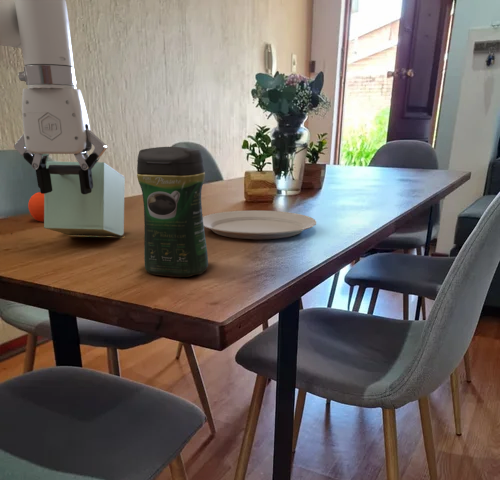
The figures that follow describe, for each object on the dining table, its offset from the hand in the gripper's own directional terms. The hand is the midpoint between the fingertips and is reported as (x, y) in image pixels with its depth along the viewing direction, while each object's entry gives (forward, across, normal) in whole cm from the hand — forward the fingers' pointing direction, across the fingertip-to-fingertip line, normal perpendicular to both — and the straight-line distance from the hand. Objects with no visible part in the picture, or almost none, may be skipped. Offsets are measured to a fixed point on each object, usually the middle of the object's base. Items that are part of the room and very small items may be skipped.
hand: (66, 192), depth 89 cm
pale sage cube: (+8, 0, +5) cm, 9 cm away
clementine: (+10, -16, +24) cm, 31 cm away
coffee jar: (+11, +22, -12) cm, 27 cm away
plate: (+10, +32, +22) cm, 40 cm away
